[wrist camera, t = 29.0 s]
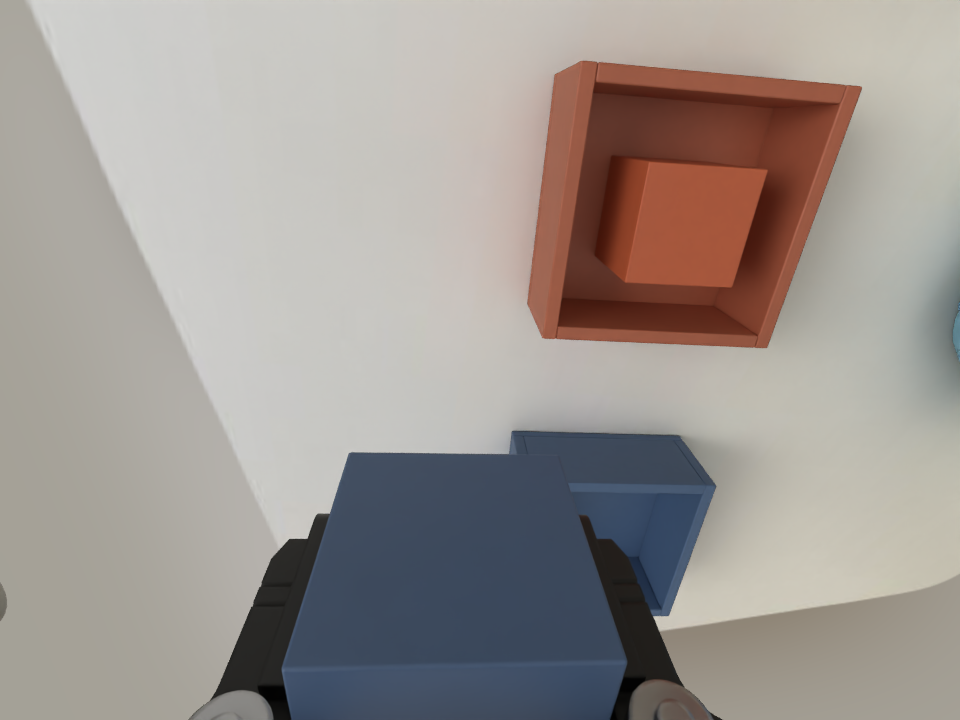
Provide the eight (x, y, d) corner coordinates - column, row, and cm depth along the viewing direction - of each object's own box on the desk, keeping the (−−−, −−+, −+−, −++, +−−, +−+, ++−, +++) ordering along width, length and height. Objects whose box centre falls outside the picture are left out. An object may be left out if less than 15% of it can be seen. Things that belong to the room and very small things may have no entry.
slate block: (360, 597, 12) (313, 837, 8) (348, 451, 10) (279, 671, 6) (536, 595, 12) (579, 824, 8) (559, 453, 10) (629, 662, 6)
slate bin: (496, 556, 32) (503, 617, 28) (511, 430, 28) (522, 482, 24) (642, 556, 33) (669, 616, 29) (679, 435, 29) (717, 485, 25)
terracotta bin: (527, 304, 24) (542, 339, 20) (554, 74, 20) (580, 60, 16) (716, 313, 25) (767, 348, 21) (783, 94, 21) (863, 86, 17)
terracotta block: (594, 256, 23) (624, 283, 19) (611, 155, 21) (649, 161, 17) (683, 260, 23) (732, 288, 19) (708, 161, 21) (768, 169, 17)
